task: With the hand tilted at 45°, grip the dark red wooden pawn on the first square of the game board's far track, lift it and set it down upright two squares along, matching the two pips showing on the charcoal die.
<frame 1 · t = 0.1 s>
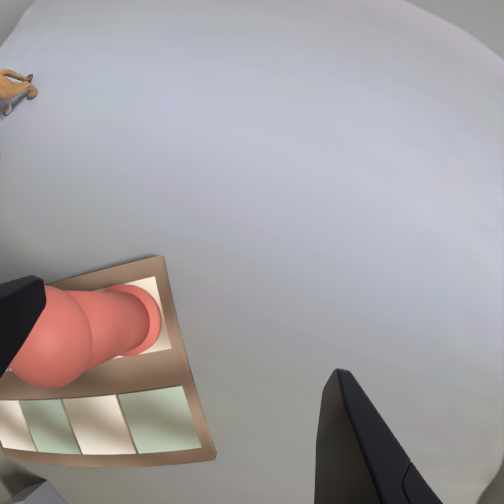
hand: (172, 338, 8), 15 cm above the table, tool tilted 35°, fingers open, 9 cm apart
lion figurine: (5, 138, 25), on the table
board: (64, 379, 22), on the table
die: (50, 502, 20), on the table
pawn: (129, 319, 22), point 1 cm above the table, touching board
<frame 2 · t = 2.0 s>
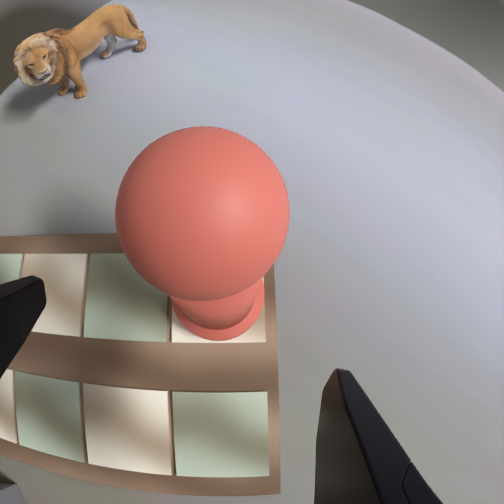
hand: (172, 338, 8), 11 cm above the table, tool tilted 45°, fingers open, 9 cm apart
lion figurine: (96, 78, 26), on the table
board: (90, 360, 18), on the table
pawn: (218, 296, 18), point 1 cm above the table, touching board
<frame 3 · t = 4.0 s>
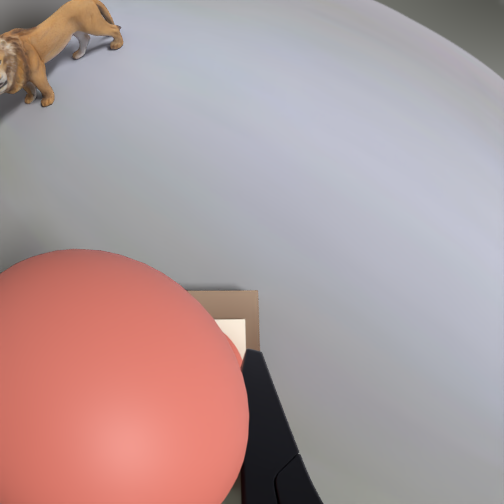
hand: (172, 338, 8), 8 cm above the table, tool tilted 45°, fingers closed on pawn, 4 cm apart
lion figurine: (66, 82, 22), on the table
board: (53, 428, 13), on the table
pawn: (189, 375, 14), point 1 cm above the table, touching board, gripper
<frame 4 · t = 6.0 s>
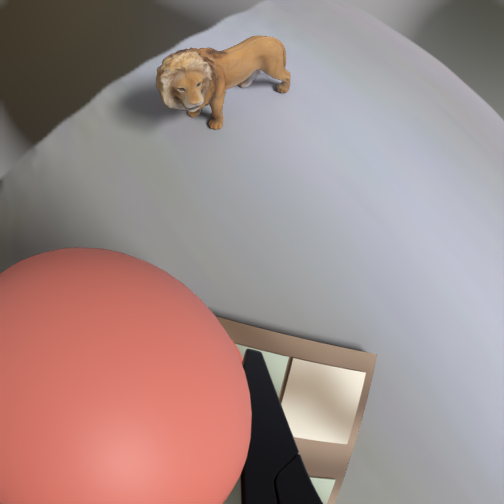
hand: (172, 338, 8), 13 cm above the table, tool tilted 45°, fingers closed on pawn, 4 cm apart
lion figurine: (232, 109, 28), on the table
board: (184, 426, 19), on the table
pawn: (189, 374, 14), point 7 cm above the table, touching gripper
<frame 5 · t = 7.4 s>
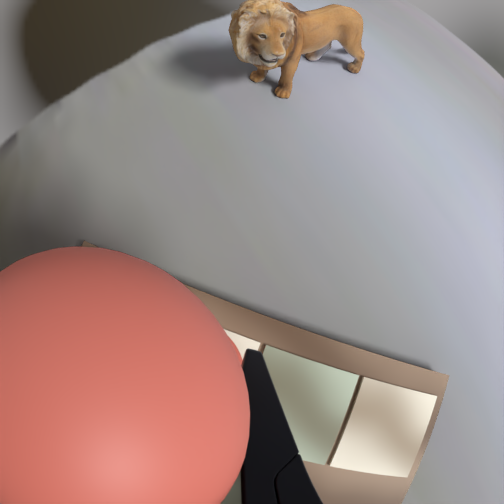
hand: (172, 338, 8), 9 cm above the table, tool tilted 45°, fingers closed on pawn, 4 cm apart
lion figurine: (299, 81, 24), on the table
board: (218, 452, 15), on the table
pawn: (189, 374, 14), point 3 cm above the table, touching gripper
when the fingers open (8 cm above the table, at t = 8.2 s): pawn stays where it is, resting on board.
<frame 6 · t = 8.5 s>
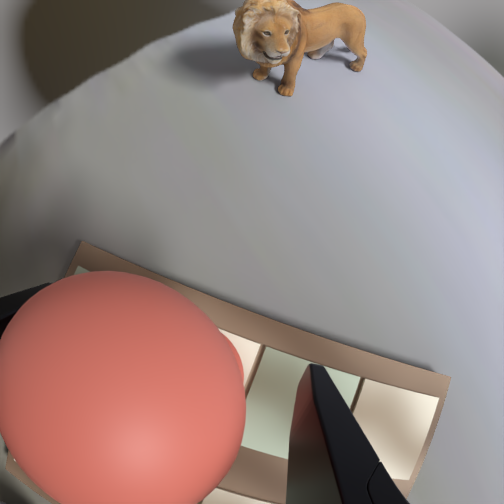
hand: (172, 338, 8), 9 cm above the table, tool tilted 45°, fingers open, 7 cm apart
lion figurine: (302, 79, 24), on the table
board: (217, 455, 15), on the table
pawn: (191, 374, 15), point 1 cm above the table, touching board
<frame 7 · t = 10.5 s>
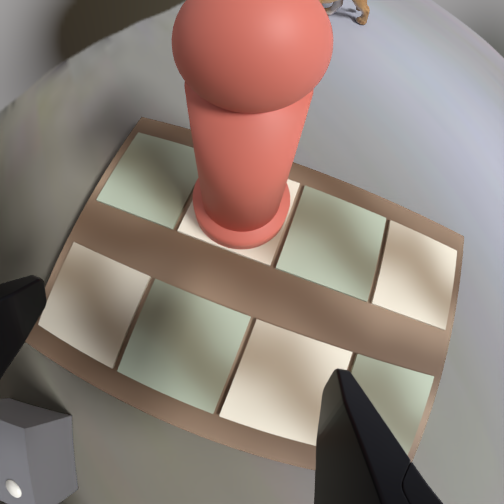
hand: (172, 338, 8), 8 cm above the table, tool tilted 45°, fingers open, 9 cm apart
lion figurine: (319, 27, 26), on the table
board: (261, 296, 17), on the table
die: (40, 444, 14), on the table
pawn: (240, 205, 18), point 1 cm above the table, touching board
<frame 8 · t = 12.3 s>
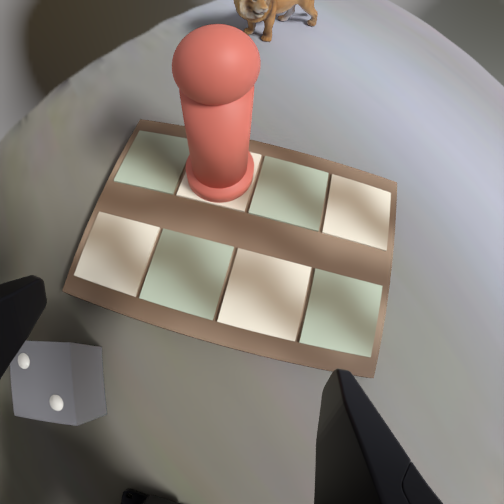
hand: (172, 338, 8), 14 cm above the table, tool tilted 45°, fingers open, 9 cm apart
lion figurine: (276, 32, 33), on the table
board: (240, 236, 24), on the table
die: (74, 379, 20), on the table
pawn: (220, 173, 24), point 1 cm above the table, touching board
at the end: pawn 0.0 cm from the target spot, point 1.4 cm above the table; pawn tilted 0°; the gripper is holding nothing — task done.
